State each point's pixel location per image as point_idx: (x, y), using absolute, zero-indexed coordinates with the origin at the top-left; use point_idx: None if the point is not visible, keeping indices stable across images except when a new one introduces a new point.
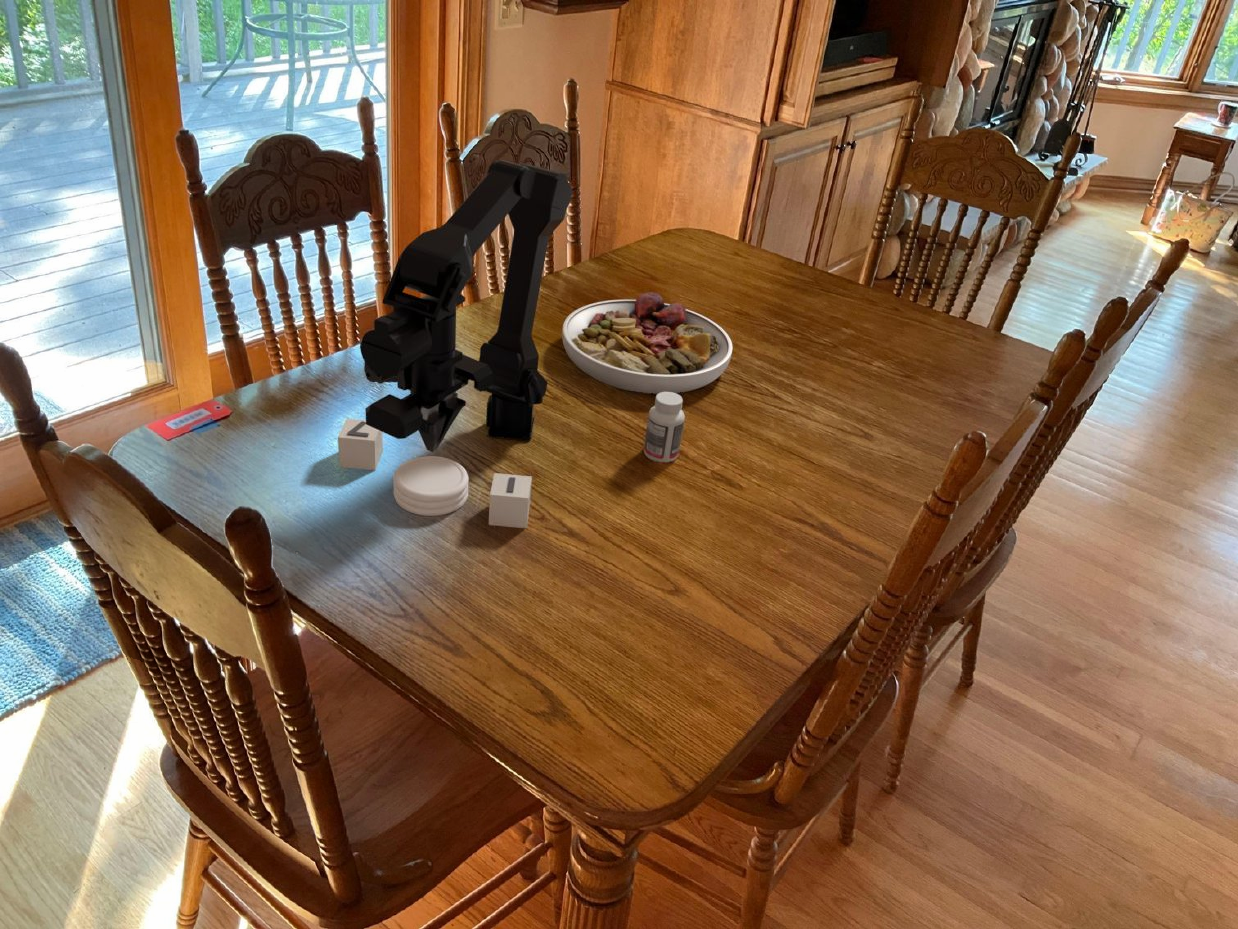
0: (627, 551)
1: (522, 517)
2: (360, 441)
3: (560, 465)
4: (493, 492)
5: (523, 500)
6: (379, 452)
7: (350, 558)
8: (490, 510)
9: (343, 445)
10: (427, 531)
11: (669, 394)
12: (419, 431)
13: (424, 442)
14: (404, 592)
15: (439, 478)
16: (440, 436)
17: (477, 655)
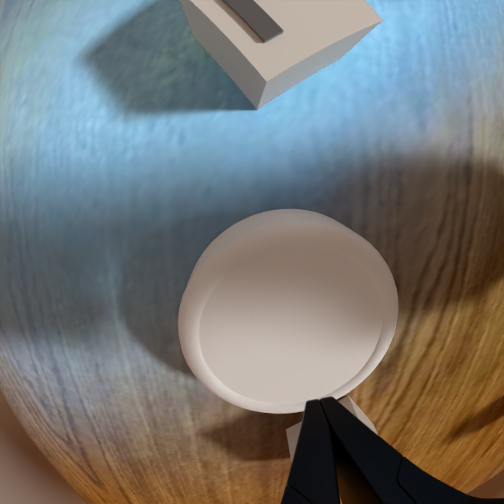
0: None
1: None
2: (228, 40)
3: (484, 365)
4: None
5: None
6: (310, 72)
7: (35, 337)
8: (290, 455)
9: (189, 11)
10: (181, 385)
11: None
12: (287, 483)
13: (300, 431)
14: (79, 428)
15: (300, 361)
16: (339, 489)
17: (112, 494)
